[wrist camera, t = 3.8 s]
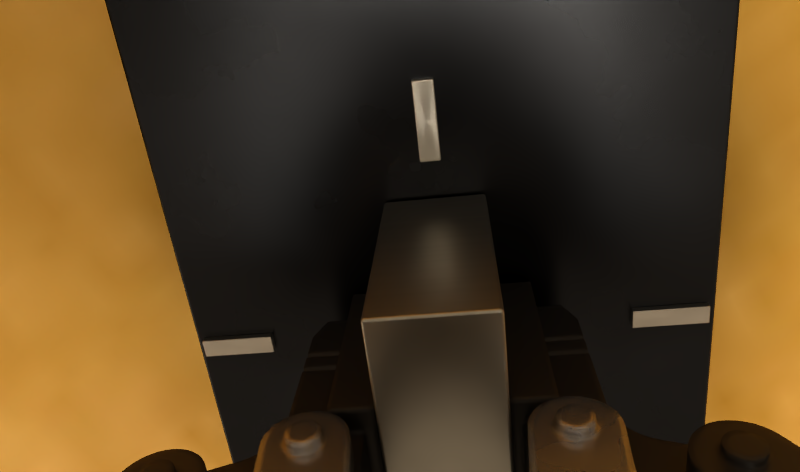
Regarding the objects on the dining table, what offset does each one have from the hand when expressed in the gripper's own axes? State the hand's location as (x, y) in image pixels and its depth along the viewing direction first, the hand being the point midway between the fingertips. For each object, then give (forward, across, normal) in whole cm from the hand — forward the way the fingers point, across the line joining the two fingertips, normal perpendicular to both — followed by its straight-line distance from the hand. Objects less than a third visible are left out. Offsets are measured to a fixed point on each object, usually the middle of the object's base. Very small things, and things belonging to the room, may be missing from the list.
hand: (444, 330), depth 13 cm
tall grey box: (0, 0, 0) cm, 0 cm away
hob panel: (+3, 0, 0) cm, 3 cm away
